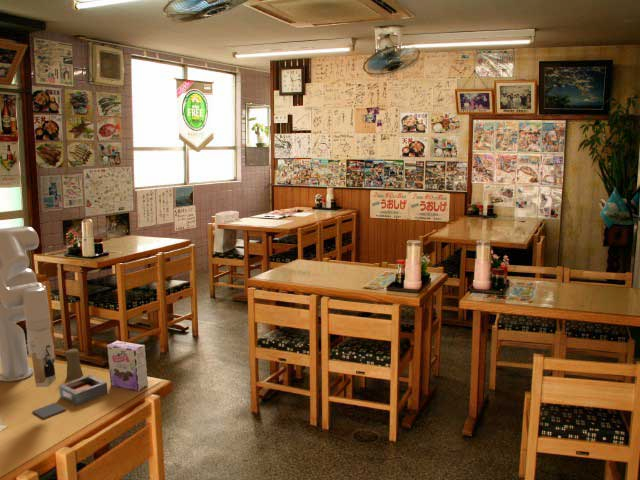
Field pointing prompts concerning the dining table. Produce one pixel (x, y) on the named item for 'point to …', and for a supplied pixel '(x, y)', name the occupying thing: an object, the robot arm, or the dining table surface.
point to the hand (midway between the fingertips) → (44, 373)
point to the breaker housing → (84, 395)
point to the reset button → (82, 387)
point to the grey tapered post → (73, 364)
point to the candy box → (127, 365)
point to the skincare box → (41, 372)
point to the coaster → (49, 410)
